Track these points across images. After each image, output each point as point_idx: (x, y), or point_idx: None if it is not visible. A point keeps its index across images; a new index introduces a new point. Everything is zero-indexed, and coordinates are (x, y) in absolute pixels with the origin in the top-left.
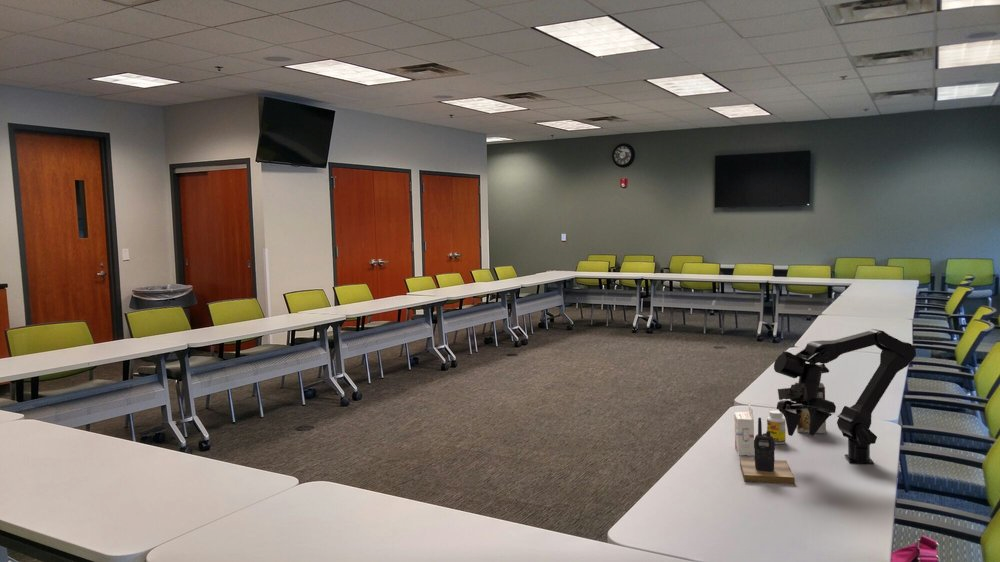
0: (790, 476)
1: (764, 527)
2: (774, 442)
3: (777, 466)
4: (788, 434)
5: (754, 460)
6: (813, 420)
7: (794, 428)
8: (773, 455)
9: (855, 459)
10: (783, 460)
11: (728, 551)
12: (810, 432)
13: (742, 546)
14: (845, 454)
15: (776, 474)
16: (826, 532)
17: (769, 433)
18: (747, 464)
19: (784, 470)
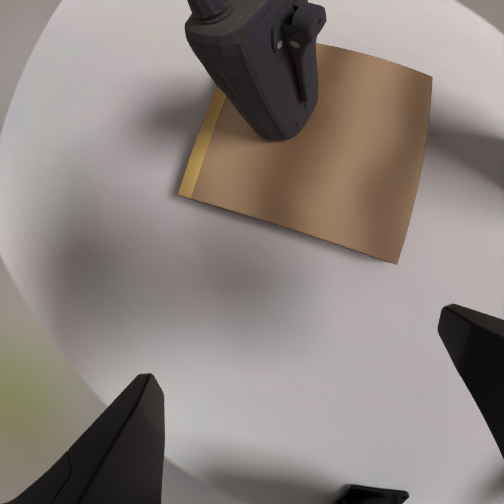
0: (188, 182)
1: (48, 78)
2: (212, 71)
3: (319, 178)
4: (450, 304)
5: (409, 116)
6: (53, 473)
7: (473, 384)
8: (231, 102)
9: (345, 502)
10: (398, 249)
11: (37, 44)
12: (128, 385)
13: (35, 56)
14: (408, 496)
15: (221, 135)
16: (14, 169)
17: (189, 2)
18: (359, 71)
19: (262, 187)
